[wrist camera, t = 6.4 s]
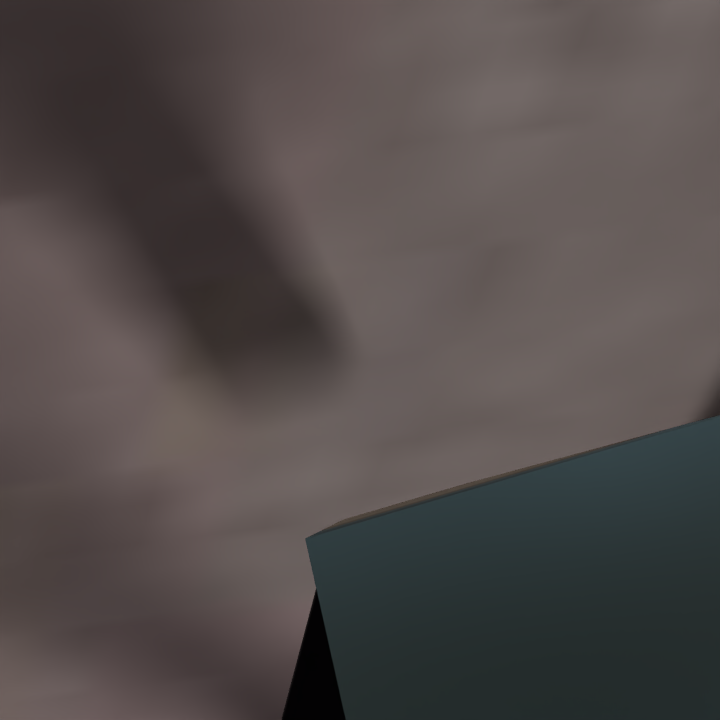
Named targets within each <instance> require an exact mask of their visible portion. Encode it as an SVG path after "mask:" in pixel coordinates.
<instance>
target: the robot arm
mask: <svg viewBox="0 0 720 720" xmlns="http://www.w3.org/2000/svg"><path fill="white" fill-rule="evenodd" d="M282 720H346V719H345V714H344V710H343V705H342V701H341V696H340V692H339V687H338V683H337V678H336V674H335V669H334V665H333V660H332V656H331V651H330V647H329V642H328V638H327V633H326V629H325V624H324V620H323V616H322V611H321V607H320V602H319V598H318V593H317V589H316V591H315V595H314V599H313V603H312V606H311V610H310V614H309V618H308V622H307V625H306V629H305V633H304V637H303V640H302V644H301V648H300V652H299V655H298V659H297V663H296V667H295V671H294V674H293V678H292V682H291V686H290V689H289V693H288V697H287V701H286V705H285V708H284V712H283V716H282Z"/></svg>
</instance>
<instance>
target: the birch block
mask: <svg viewBox="0 0 720 720" xmlns="http://www.w3.org/2000/svg"><path fill="white" fill-rule="evenodd" d="M306 544H307V548H308V553H309V557H310V562H311V566H312V571H313V575H314V580H315V584H316V589H317V593H318V598H319V602H320V607H321V611H322V616H323V620H324V624H325V629H326V633H327V638H328V642H329V647H330V651H331V656H332V660H333V665H334V669H335V674H336V678H337V683H338V687H339V692H340V696H341V701H342V705H343V710H344V714H345V719H346V720H720V415H718V416H714V417H711V418H707V419H703V420H700V421H696V422H692V423H688V424H685V425H681V426H677V427H674V428H670V429H666V430H663V431H659V432H655V433H651V434H648V435H644V436H640V437H637V438H633V439H629V440H626V441H622V442H618V443H615V444H611V445H607V446H603V447H600V448H596V449H592V450H589V451H585V452H581V453H578V454H574V455H570V456H566V457H563V458H559V459H555V460H552V461H548V462H544V463H541V464H537V465H533V466H529V467H526V468H522V469H518V470H515V471H511V472H507V473H504V474H500V475H496V476H492V477H489V478H485V479H481V480H478V481H474V482H470V483H467V484H463V485H460V486H456V487H453V488H450V489H446V490H443V491H439V492H436V493H432V494H429V495H426V496H422V497H419V498H415V499H412V500H409V501H405V502H402V503H398V504H395V505H392V506H388V507H385V508H381V509H378V510H375V511H371V512H368V513H364V514H361V515H357V516H354V517H351V518H347V519H344V520H342V521H340V522H338V523H336V524H334V525H332V526H330V527H328V528H326V529H324V530H322V531H320V532H318V533H316V534H314V535H312V536H310V537H308V538H306Z"/></svg>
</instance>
